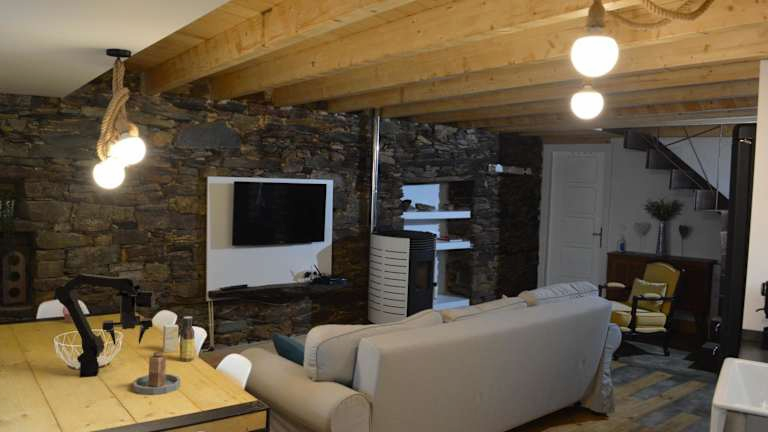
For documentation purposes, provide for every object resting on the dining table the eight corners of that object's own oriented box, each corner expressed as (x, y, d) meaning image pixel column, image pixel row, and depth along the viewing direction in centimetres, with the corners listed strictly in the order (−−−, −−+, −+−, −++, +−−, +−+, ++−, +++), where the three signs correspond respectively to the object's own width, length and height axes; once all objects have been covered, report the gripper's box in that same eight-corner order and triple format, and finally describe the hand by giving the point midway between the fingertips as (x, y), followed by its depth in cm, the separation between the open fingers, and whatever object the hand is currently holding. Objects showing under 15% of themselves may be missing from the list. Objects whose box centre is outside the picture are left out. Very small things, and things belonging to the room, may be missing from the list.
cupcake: (74, 324, 322) (74, 306, 321) (58, 323, 322) (59, 305, 321) (83, 320, 331) (83, 303, 330) (67, 320, 331) (68, 302, 330)
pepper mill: (157, 388, 231) (158, 355, 230) (148, 386, 232) (149, 353, 232) (165, 384, 235) (166, 352, 234) (156, 383, 237) (156, 350, 236)
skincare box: (164, 352, 279) (164, 327, 278) (162, 350, 283) (163, 325, 282) (178, 351, 282) (178, 326, 281) (176, 348, 286) (176, 324, 285)
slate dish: (135, 396, 222) (135, 390, 222) (131, 382, 238) (132, 376, 237) (182, 391, 230) (182, 385, 230) (176, 377, 245) (176, 372, 245)
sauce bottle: (181, 357, 273) (182, 315, 271) (195, 358, 273) (196, 315, 272) (177, 362, 266) (178, 318, 265) (192, 362, 267) (193, 318, 265)
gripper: (103, 312, 232) (102, 351, 233) (154, 310, 241) (153, 347, 242) (102, 306, 242) (101, 344, 243) (151, 304, 251) (150, 340, 252)
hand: (127, 344), depth 245 cm, fingers open, 9 cm apart
